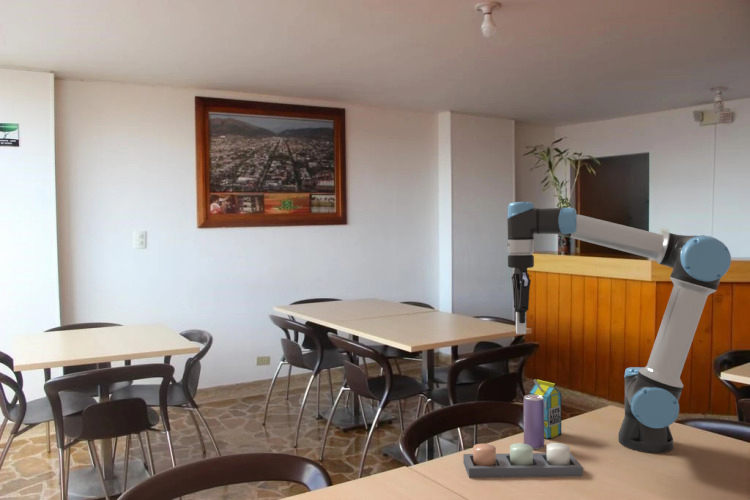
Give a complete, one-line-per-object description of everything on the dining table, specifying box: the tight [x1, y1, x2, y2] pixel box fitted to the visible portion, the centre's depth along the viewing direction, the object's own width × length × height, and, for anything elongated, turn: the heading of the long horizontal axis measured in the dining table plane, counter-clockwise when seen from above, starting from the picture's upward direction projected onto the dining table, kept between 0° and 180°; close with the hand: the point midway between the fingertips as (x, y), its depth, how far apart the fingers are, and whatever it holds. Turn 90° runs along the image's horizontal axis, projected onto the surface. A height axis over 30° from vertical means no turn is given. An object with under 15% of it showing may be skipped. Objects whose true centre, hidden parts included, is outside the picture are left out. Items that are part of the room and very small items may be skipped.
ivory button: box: [546, 442, 571, 465], centre depth 159 cm, size 6×6×5 cm
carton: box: [528, 379, 562, 441], centre depth 186 cm, size 7×8×18 cm
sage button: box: [509, 442, 534, 466], centre depth 159 cm, size 6×6×5 cm
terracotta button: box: [472, 443, 497, 466], centre depth 159 cm, size 6×6×5 cm
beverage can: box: [523, 394, 545, 450], centre depth 176 cm, size 6×6×15 cm
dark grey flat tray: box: [462, 452, 584, 479], centre depth 159 cm, size 30×10×2 cm, turn 90°
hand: (521, 333), depth 174 cm, fingers closed
